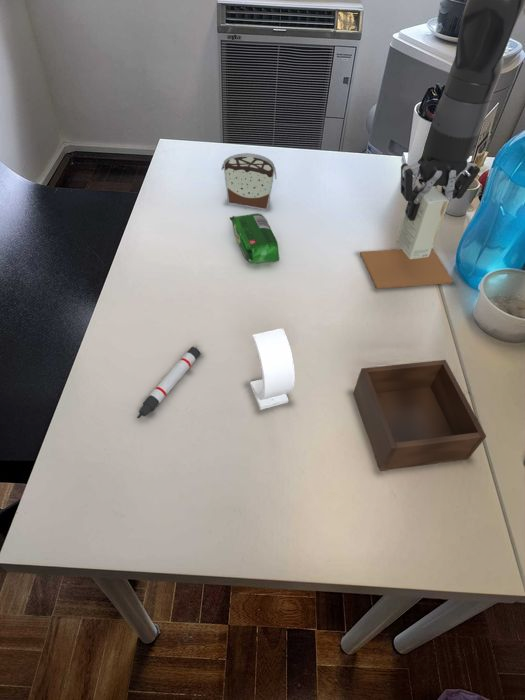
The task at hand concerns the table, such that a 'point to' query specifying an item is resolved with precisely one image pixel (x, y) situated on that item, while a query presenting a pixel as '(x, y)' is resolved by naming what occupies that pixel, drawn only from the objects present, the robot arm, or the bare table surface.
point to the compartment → (416, 415)
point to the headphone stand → (273, 369)
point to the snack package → (255, 238)
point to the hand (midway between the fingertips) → (423, 217)
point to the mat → (403, 269)
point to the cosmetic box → (423, 225)
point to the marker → (169, 381)
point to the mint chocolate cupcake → (249, 180)
